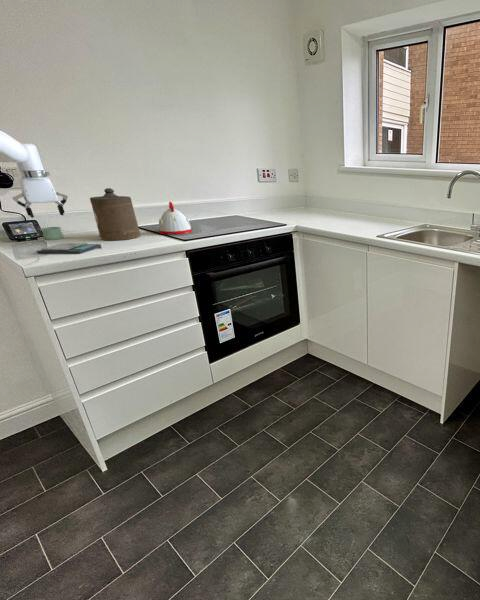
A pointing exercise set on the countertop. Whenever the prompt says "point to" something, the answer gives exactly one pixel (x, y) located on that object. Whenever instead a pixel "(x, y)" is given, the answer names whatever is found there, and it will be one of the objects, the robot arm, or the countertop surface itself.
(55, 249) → the scale
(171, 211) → the white dome
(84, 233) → the countertop surface
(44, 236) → the bowl
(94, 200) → the wooden container
